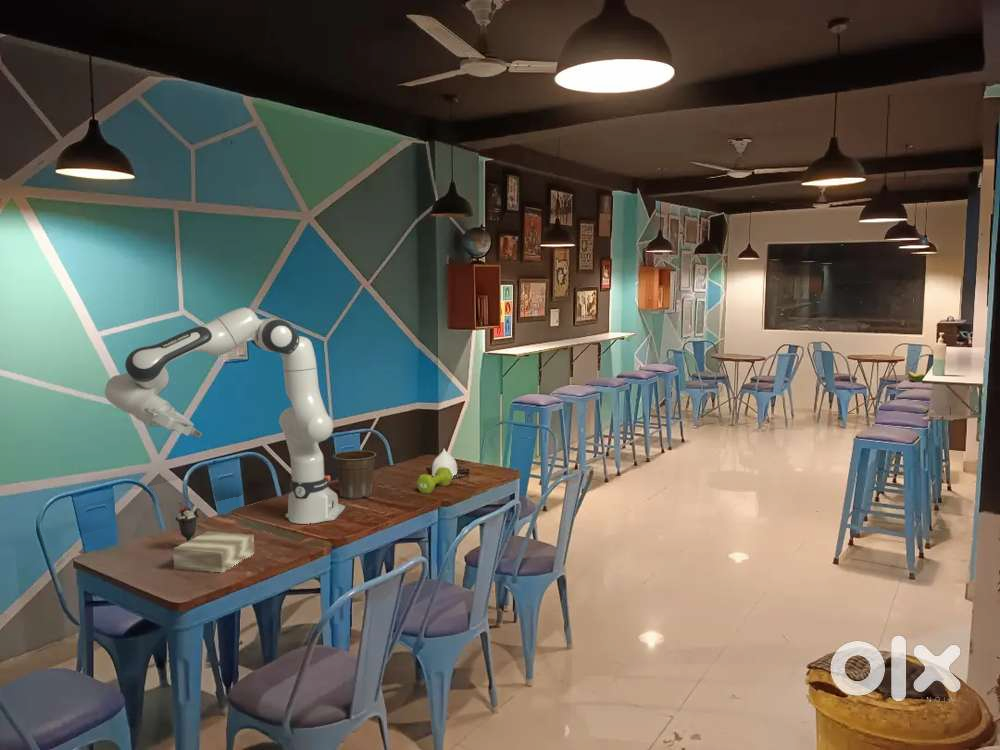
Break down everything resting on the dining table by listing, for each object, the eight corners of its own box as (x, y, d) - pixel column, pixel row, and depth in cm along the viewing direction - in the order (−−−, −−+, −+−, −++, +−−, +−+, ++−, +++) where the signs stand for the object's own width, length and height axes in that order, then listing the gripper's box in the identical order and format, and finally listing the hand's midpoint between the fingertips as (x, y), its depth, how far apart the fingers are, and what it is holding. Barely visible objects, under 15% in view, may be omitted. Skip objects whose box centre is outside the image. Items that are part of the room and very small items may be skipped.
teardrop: (439, 471, 328) (438, 444, 326) (462, 473, 323) (461, 446, 322) (427, 477, 318) (426, 449, 316) (450, 479, 313) (449, 451, 312)
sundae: (173, 552, 231) (169, 504, 229) (185, 544, 238) (182, 498, 236) (193, 552, 230) (190, 505, 228) (204, 545, 237) (201, 498, 235)
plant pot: (378, 488, 301) (377, 449, 299) (376, 499, 285) (375, 458, 283) (337, 490, 299) (335, 451, 297) (333, 502, 283) (331, 460, 281)
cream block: (208, 550, 232) (207, 531, 231) (254, 553, 228) (253, 534, 227) (174, 568, 217) (172, 548, 216) (222, 573, 213) (221, 552, 212)
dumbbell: (431, 495, 290) (431, 477, 290) (414, 492, 294) (414, 474, 294) (454, 485, 305) (454, 467, 304) (438, 483, 309) (438, 465, 308)
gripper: (148, 399, 217) (189, 422, 217) (172, 406, 238) (210, 428, 238) (136, 417, 216) (177, 441, 216) (161, 423, 237) (199, 445, 237)
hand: (195, 434), depth 227 cm, fingers open, 8 cm apart
